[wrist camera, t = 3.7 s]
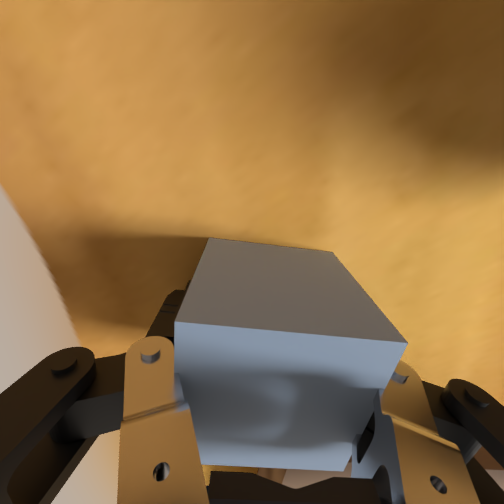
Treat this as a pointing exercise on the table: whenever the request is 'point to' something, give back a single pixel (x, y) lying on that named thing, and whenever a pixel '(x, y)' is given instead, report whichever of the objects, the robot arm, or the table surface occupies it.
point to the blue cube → (280, 356)
